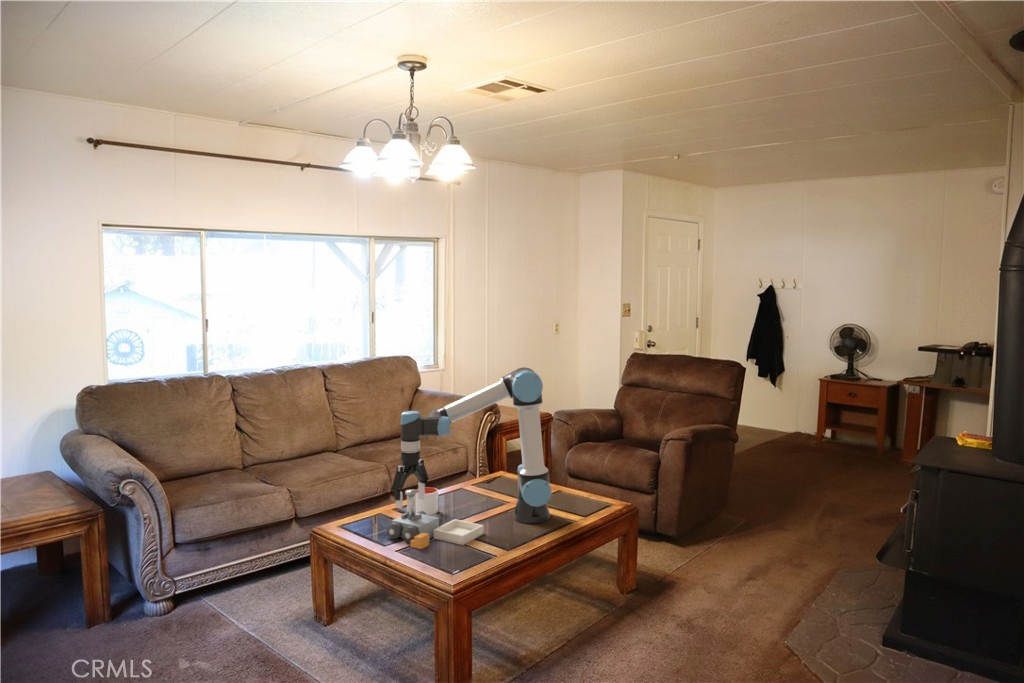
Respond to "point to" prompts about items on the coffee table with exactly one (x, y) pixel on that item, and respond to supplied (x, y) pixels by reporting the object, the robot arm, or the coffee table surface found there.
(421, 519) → the trolley
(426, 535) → the block
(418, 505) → the cup
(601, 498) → the coffee table surface
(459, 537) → the tray
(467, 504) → the coffee table surface
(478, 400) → the robot arm
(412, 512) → the pin
